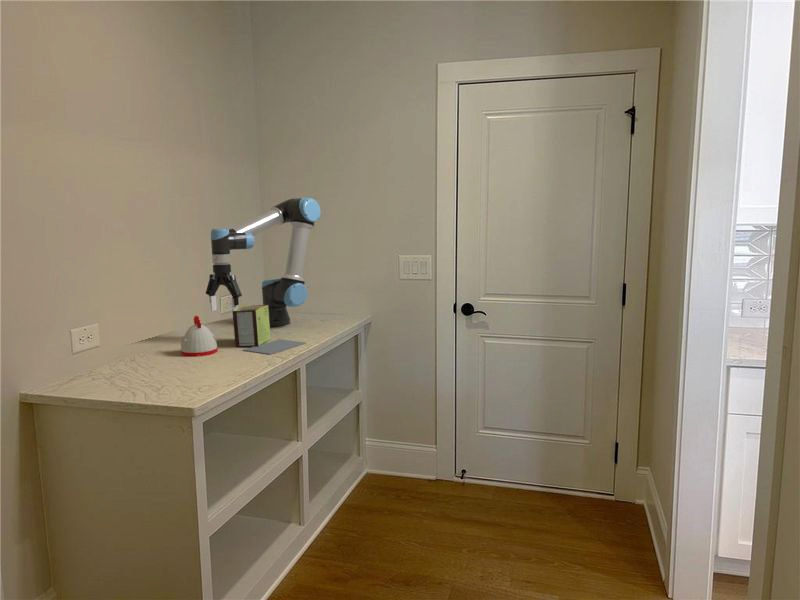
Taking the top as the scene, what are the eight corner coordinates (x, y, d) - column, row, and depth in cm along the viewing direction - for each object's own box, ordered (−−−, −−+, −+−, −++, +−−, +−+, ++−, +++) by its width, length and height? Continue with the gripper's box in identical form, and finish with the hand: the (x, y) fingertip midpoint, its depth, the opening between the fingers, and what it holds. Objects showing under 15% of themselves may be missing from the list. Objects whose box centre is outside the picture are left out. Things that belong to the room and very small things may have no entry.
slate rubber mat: (279, 339, 240) (279, 339, 239) (306, 343, 232) (306, 342, 232) (242, 350, 221) (242, 349, 221) (270, 354, 213) (270, 353, 213)
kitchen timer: (212, 346, 228) (210, 312, 226) (221, 353, 217) (219, 316, 215) (177, 351, 221) (174, 315, 218) (185, 358, 209) (182, 320, 207)
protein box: (271, 338, 241) (268, 304, 239) (258, 346, 226) (255, 309, 224) (248, 339, 242) (245, 305, 240) (234, 346, 227) (231, 310, 225)
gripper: (195, 263, 240) (198, 310, 243) (235, 265, 227) (238, 314, 231) (209, 262, 246) (211, 308, 249) (248, 264, 234) (251, 312, 237)
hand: (224, 311), depth 240 cm, fingers open, 13 cm apart
